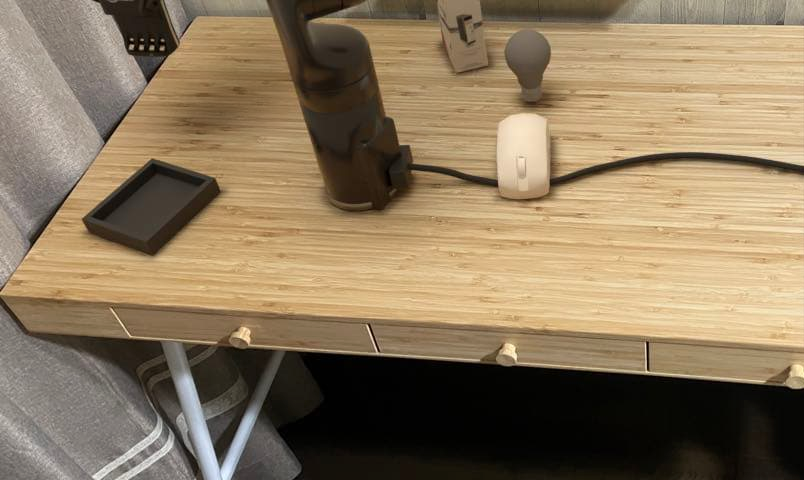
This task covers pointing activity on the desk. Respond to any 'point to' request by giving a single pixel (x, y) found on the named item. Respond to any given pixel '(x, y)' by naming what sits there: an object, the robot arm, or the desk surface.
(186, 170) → the dock pad
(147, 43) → the battery charger
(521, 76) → the light bulb
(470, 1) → the ink box
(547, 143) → the computer mouse
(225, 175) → the desk surface
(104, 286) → the desk surface
